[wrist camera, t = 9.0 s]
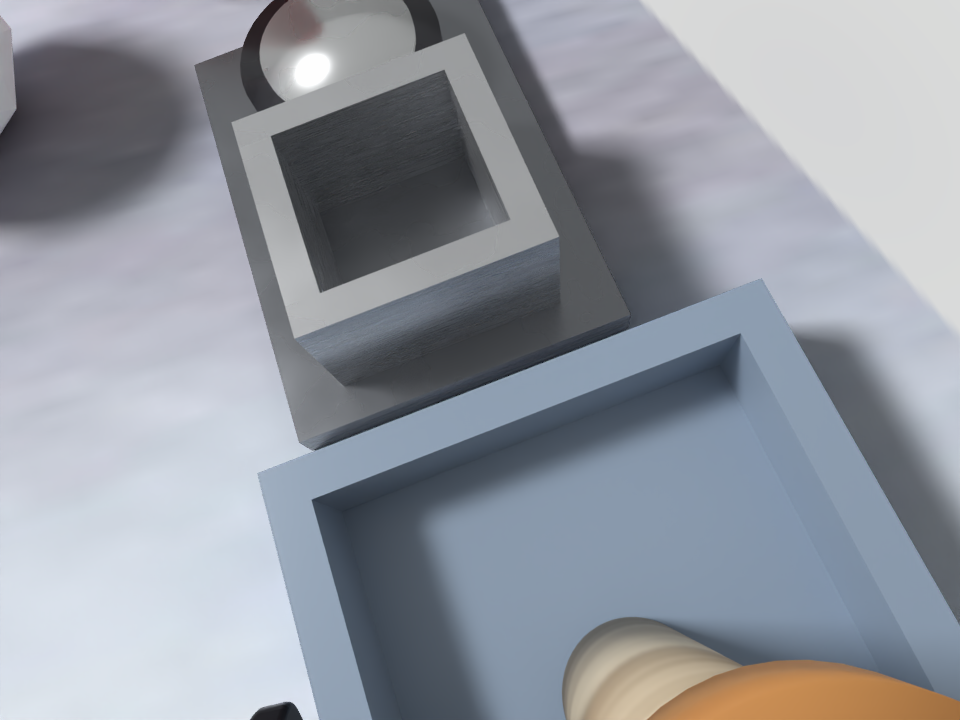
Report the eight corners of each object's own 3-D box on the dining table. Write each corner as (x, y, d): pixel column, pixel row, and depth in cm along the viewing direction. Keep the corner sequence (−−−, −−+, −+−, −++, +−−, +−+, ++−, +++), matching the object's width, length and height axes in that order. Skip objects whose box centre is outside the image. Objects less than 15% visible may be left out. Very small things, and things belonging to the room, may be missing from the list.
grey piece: (627, 328, 19) (645, 250, 15) (312, 450, 19) (238, 407, 15) (464, -11, 23) (442, -147, 19) (209, 86, 23) (129, -28, 19)
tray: (1064, 944, 14) (1192, 1033, 11) (490, 1171, 14) (470, 1321, 11) (731, 327, 18) (761, 278, 16) (304, 492, 18) (257, 473, 16)
